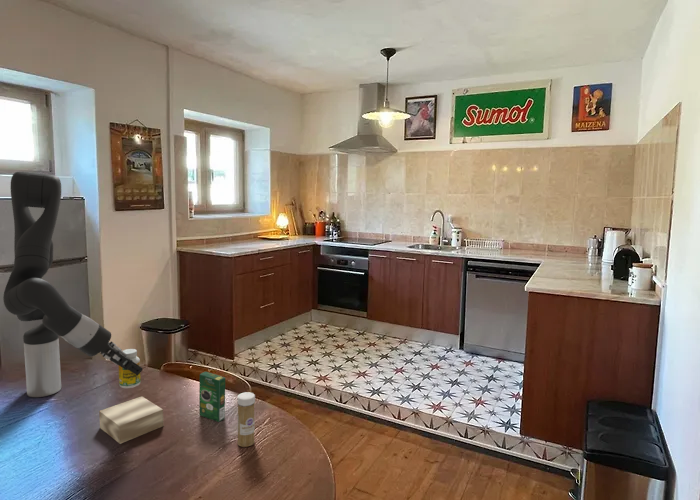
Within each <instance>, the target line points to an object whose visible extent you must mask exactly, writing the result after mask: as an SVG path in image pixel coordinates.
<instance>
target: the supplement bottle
mask: <svg viewBox="0 0 700 500" xmlns="http://www.w3.org/2000/svg"><path fill="white" fill-rule="evenodd" d="M122 351H123V352H124V353H126V355H127V357H128V358H129V359H130V360H133V362H134V363H136V364H137V365H139V366H140V367H141V359H140V358H139V357H138V349H135V348H127V349H126V348H125V349H122ZM121 354H122V353H121ZM126 362H127V361H125V362H124V363H123V364H124V365H125V364H126ZM117 367H118V383H119V385H118V386H119V387H120V388H123V389H132V388H135V387H138V386H139V385H140V384H141V380H142V378H141V373H140V374H139V375H136V374H134V373H133V372H131V371H130V370H128V369H127V370H126V369H124V368H122V367H121V366H119V365H117Z"/></svg>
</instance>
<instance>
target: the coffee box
mask: <svg viewBox="0 0 700 500" xmlns="http://www.w3.org/2000/svg"><path fill="white" fill-rule="evenodd" d="M198 384H199V395H198V396H199V402H198V403H199V410H198V411H199V412H198V413H199V416H200V417H202V418H207V419H209V420H212V421H213V422H217V423H220V422H221V421H223V420H225V419H226V418H225V417H226V415H225V414H226V377H224V376H222V375H218V374H215V373H212V372H209V371H204V372H201V373H200V374H199V383H198Z"/></svg>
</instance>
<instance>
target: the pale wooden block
mask: <svg viewBox="0 0 700 500" xmlns="http://www.w3.org/2000/svg"><path fill="white" fill-rule="evenodd" d="M98 414H99V429H100V430H102V431H103V432H104V433H106V434H107V435H108V436H110V437H111V438H112V439H113V440H115V441H116V442H117V443H118V444H120V445H121V444H123V443H125V442H128V441H130V440H133V439H135V438H138V437H140V436H143V435H145V434H147V433H150V432H153V431H155V430H157V429H160V428H162V427H164V409H163V408H162V407H160V406H159V405H157V404H155V403H153V402H152V401H150V400H148V399H147V398H145V397H144V396H142V395H141V396H139V397H136V398H133V399H130V400H127V401H123V402H121V403H118V404H116V405H112V406H109V407H107V408H103V409H101V410H99V411H98Z"/></svg>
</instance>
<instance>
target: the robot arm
mask: <svg viewBox="0 0 700 500" xmlns="http://www.w3.org/2000/svg"><path fill="white" fill-rule="evenodd" d="M10 198H11V206H12V207H11V208H12V216H13V222H14V223H13V224H14V241H13V243H14V248H13V249H14V251H13V252H14V262H13V269H12V271H11V273H10V274H9V277H8V280H7V282H6V285H5V289H4V292H3V298H2V299H3V305H4V307H5V309H6V310H7V311H8V312H9V313H10V314H12V315H14V316H16V317H17V319H18V320H19V321H20V322H32V321H40V320H41V321H42V323H40V324H39V325H37V326H36V327H34V328H31V329H29V330H27V331H25V332H24V333H23V336H22V339H23V352H24V353H23V354H24V365H25V367H24V369H25V386H26V395H27V396H28V397H29V398H42V397H47V396H50V395H54V394H56V393H58V392H60V391H61V389H62V378H61V377H62V375H61V358H60V343H59V342H60V340H59V338H62V339H63V340H64V341H65V342H67V343H68V344H69V345H72V346H73V347H74V348H76V349H77V350H79V351H80V352H82V353H83V354H85V355H86V356H88V357H95V356H97V355H98V354H100V355H101V356H102V358H103V359H105V360H108V361H110V362H111V363H113V364H114V365H116V366H118V365H119V366H121V367H122V368H124V369H126V370H127V369H128V370H130V371H131V372H133V373H134V374H136V375H139V374H140V375H141V373H142V371H143V367H142V366H141V365H140V366H139V365H137V364H136V363H134V362H133V360H130V359H129V358H128V357H127V355H126V353H124V352H123V349H121V347H120V346H118V345H117V344H116V343H114V342H113V341H111V339H112V332H111V331H109V330H108V329H107V328H105V327H103V325H101V324H100V323H98V322H96V321H95V320H94V319H92V318H91V317H89V316H87V315H85V314H83V313H82V312H80V311H79V310H77V309H75V308H74V307H73V306H71V305H69V303H68V302H67V301H66V299H65V298H64V297H63V296H62V295H61V293H60V292H59V291H58V290H57V288H56V287H55V286H53V284H52V283H50V282H49V281H47V280H45V279H42V278H43V277H44V276H45V275H46V274H47V273H48V270H49V269H50V268H51V266H52V265H53V262H54V242H53V240H52V239H53V235H54V230H55V228H56V223H57V220H58V219H57V218H58V215H59V210H60V206H61V200H62V182H61V179H60V177H59V176H57V175H54V174H48V173H39V172H31V171H16V172H13V174H12V175H11V179H10ZM30 208H36V209H37V208H40V209H44V210H43V212H42V214H41V215H40V217H38V219H37V220H36V219H35V218H34V217H33V215H32V213H31V211H30ZM121 353H122V354H121ZM125 361H127V362H126V364H125V365H124V364H123V363H124V362H125Z"/></svg>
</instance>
